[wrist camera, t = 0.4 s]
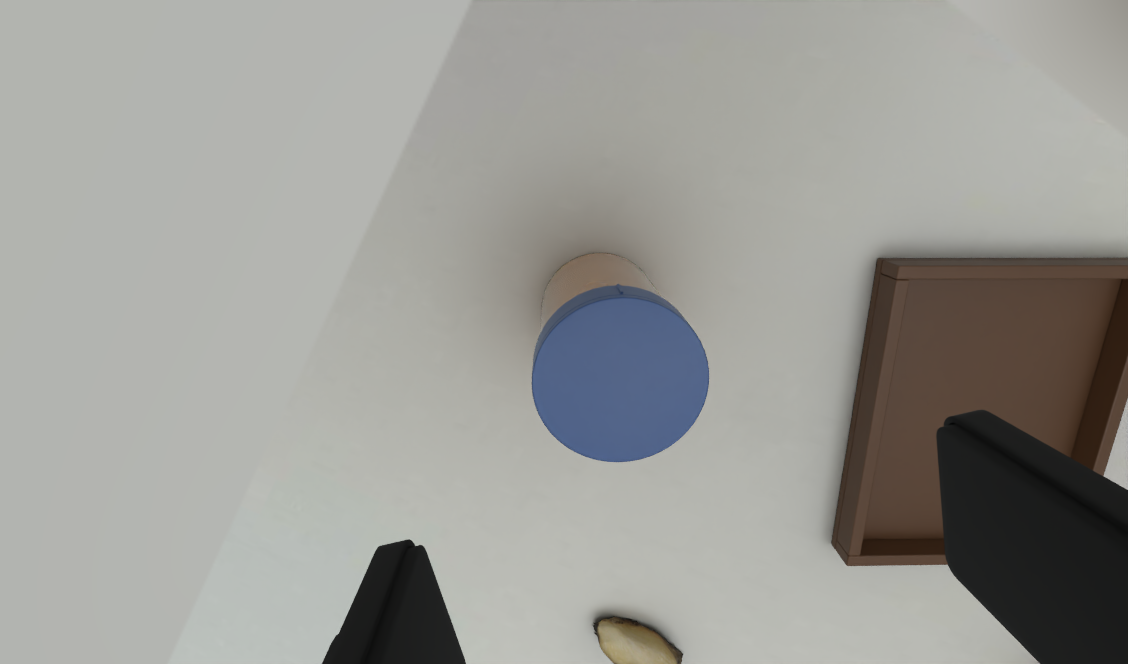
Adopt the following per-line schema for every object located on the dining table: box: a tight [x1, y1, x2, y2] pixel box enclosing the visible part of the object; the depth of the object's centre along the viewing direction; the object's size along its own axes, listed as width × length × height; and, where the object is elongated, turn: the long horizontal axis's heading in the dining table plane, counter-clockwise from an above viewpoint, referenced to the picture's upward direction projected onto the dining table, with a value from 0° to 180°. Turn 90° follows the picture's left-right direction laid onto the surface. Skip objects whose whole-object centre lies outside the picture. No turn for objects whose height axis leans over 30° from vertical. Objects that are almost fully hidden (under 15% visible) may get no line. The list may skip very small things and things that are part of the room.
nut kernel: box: [593, 616, 683, 664], centre depth 37 cm, size 6×5×3 cm
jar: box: [540, 253, 661, 333], centre depth 27 cm, size 6×6×10 cm
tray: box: [832, 258, 1128, 566], centre depth 33 cm, size 17×13×2 cm
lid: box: [532, 284, 709, 462], centre depth 23 cm, size 6×6×2 cm
